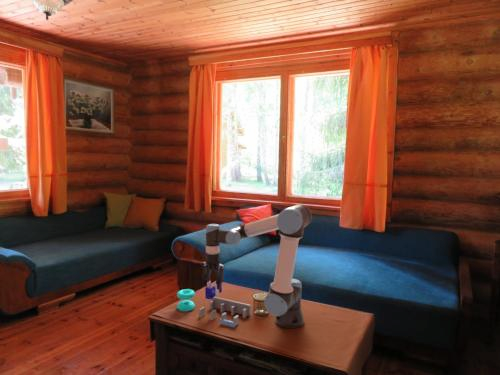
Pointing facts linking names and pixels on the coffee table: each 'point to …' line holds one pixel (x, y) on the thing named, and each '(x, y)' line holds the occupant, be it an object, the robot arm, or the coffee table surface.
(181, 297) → the donuts
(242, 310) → the grey peg rack
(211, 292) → the blue curved block
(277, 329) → the coffee table surface
